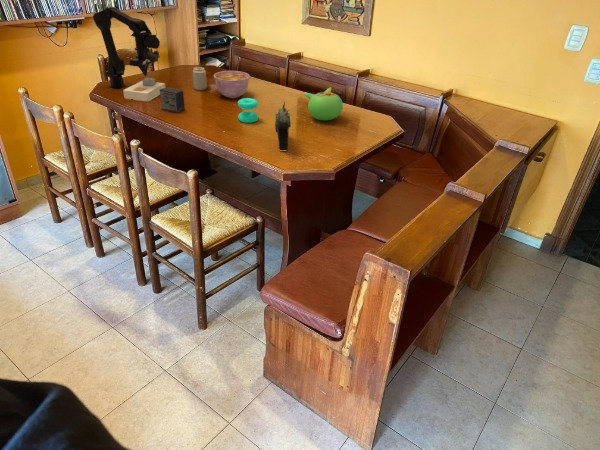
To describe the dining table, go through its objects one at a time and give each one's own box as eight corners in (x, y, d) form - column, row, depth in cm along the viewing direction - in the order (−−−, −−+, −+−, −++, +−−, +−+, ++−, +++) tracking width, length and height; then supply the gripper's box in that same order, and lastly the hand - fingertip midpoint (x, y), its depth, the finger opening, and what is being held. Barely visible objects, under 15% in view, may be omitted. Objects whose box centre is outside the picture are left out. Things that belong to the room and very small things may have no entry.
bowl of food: (208, 97, 251) (206, 76, 245) (226, 88, 267) (225, 68, 260) (239, 103, 245) (238, 82, 239) (255, 94, 261) (255, 73, 255)
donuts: (252, 96, 226) (261, 102, 219) (252, 115, 231) (261, 121, 225) (234, 98, 221) (243, 105, 214) (235, 118, 227) (243, 124, 220)
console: (124, 98, 243) (123, 90, 240) (143, 88, 259) (142, 80, 257) (148, 101, 241) (146, 93, 238) (165, 91, 257) (164, 83, 254)
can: (208, 87, 267) (207, 66, 260) (204, 91, 261) (203, 70, 254) (196, 86, 267) (194, 65, 261) (192, 90, 261) (190, 69, 254)
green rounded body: (316, 126, 223) (318, 97, 215) (301, 115, 235) (302, 87, 227) (347, 122, 230) (350, 94, 222) (330, 111, 242) (332, 84, 234)
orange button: (134, 96, 244) (133, 89, 242) (139, 93, 248) (138, 87, 246) (142, 97, 243) (141, 90, 241) (147, 94, 247) (146, 88, 245)
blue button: (143, 86, 250) (142, 79, 248) (147, 83, 254) (146, 77, 252) (151, 87, 249) (150, 81, 247) (155, 84, 253) (154, 78, 252)
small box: (185, 109, 233) (183, 89, 228) (177, 113, 228) (175, 93, 223) (169, 106, 237) (167, 86, 231) (161, 109, 232) (158, 89, 226)
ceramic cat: (290, 153, 195) (291, 108, 184) (275, 153, 194) (276, 108, 183) (287, 135, 211) (289, 93, 200) (273, 135, 211) (274, 93, 200)
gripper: (145, 51, 229) (149, 82, 237) (164, 44, 244) (167, 73, 253) (126, 48, 231) (130, 79, 239) (145, 42, 246) (149, 70, 255)
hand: (145, 75), depth 246 cm, fingers closed
